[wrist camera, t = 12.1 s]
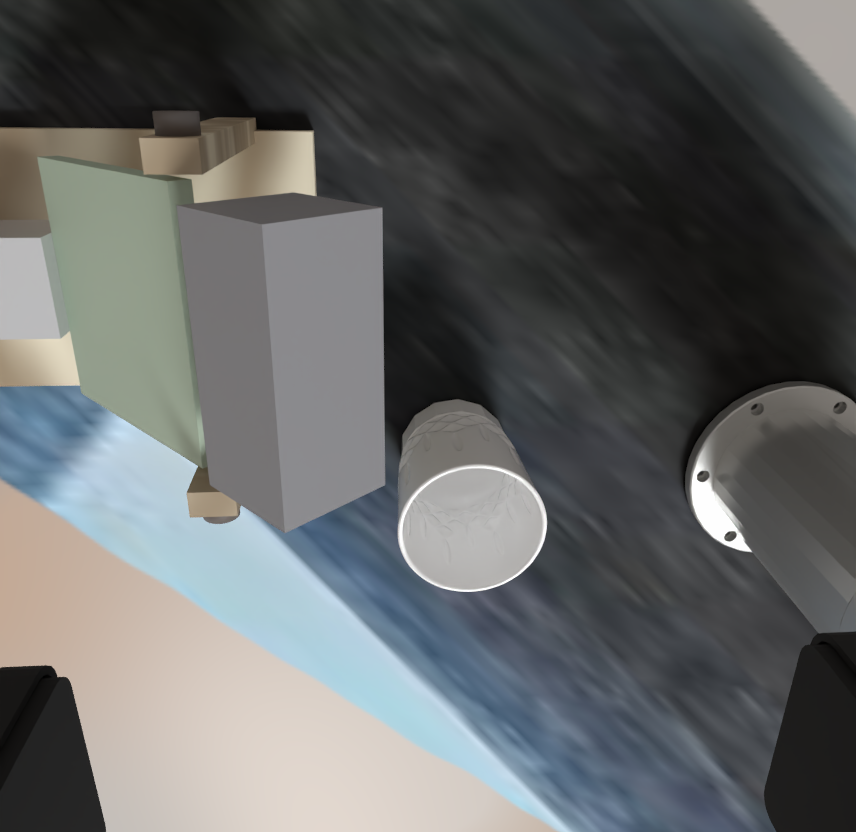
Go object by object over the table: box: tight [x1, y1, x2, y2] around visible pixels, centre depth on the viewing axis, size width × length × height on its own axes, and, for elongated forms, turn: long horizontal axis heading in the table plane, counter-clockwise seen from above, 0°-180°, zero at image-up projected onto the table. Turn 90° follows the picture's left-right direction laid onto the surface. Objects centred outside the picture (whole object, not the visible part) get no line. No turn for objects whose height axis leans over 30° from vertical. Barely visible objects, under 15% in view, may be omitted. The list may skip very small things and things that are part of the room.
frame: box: [0, 110, 317, 524], centre depth 35 cm, size 20×17×15 cm
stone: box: [0, 220, 70, 340], centre depth 39 cm, size 5×5×5 cm
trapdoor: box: [37, 156, 385, 533], centre depth 33 cm, size 19×12×5 cm
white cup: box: [398, 399, 547, 592], centre depth 44 cm, size 8×8×10 cm
